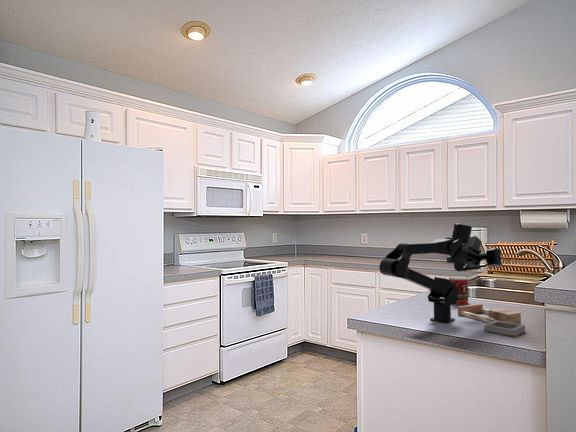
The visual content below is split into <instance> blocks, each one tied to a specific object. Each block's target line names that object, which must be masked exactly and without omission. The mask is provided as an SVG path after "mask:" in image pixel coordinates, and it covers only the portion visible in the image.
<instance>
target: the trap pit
mask: <svg viewBox="0 0 576 432" xmlns="http://www.w3.org/2000/svg"><path fill="white" fill-rule="evenodd" d="M483 327H484V328H483V329H484V333H485V332H486V333H491V334H497V335H502V336H506V337H507V336H508V337H513V338H515V337H517V336H519V335H521V334H522V333H525V331H526V329H525V327H526V326H525V324H522V323H521V324H516V323H509V322H503V321H497V320H495V321H493V322H490V323H488V322H487V323H485V324H484V325H483Z"/></svg>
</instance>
